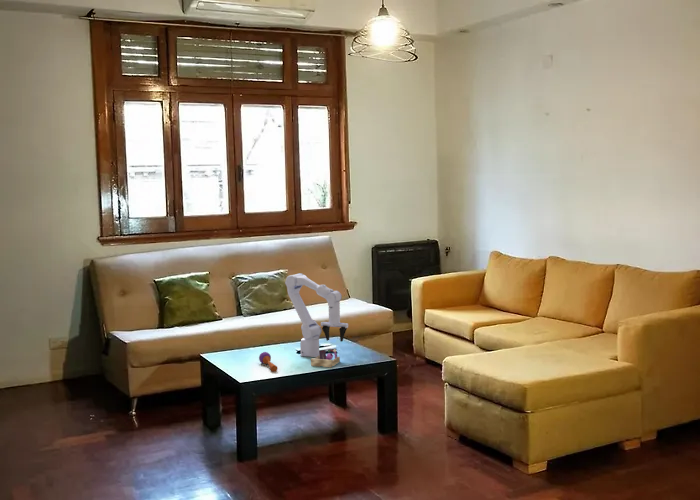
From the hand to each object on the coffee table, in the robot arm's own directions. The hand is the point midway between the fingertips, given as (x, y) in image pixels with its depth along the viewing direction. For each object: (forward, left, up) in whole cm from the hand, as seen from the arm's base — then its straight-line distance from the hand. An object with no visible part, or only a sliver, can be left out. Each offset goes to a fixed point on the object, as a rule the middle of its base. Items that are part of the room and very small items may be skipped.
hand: (334, 340), depth 394 cm
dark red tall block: (-1, -7, -10) cm, 12 cm away
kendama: (-26, -24, -10) cm, 37 cm away
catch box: (-1, -11, -9) cm, 15 cm away
